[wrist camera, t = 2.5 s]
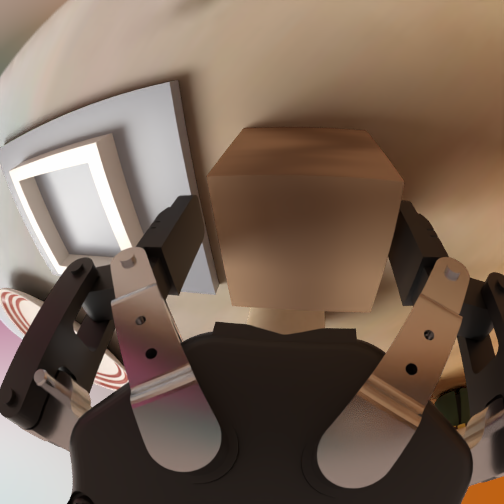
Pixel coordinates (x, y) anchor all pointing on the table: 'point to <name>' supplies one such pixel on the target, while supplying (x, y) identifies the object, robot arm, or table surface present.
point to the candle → (286, 320)
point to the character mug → (455, 409)
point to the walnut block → (304, 217)
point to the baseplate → (105, 179)
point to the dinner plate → (110, 370)
